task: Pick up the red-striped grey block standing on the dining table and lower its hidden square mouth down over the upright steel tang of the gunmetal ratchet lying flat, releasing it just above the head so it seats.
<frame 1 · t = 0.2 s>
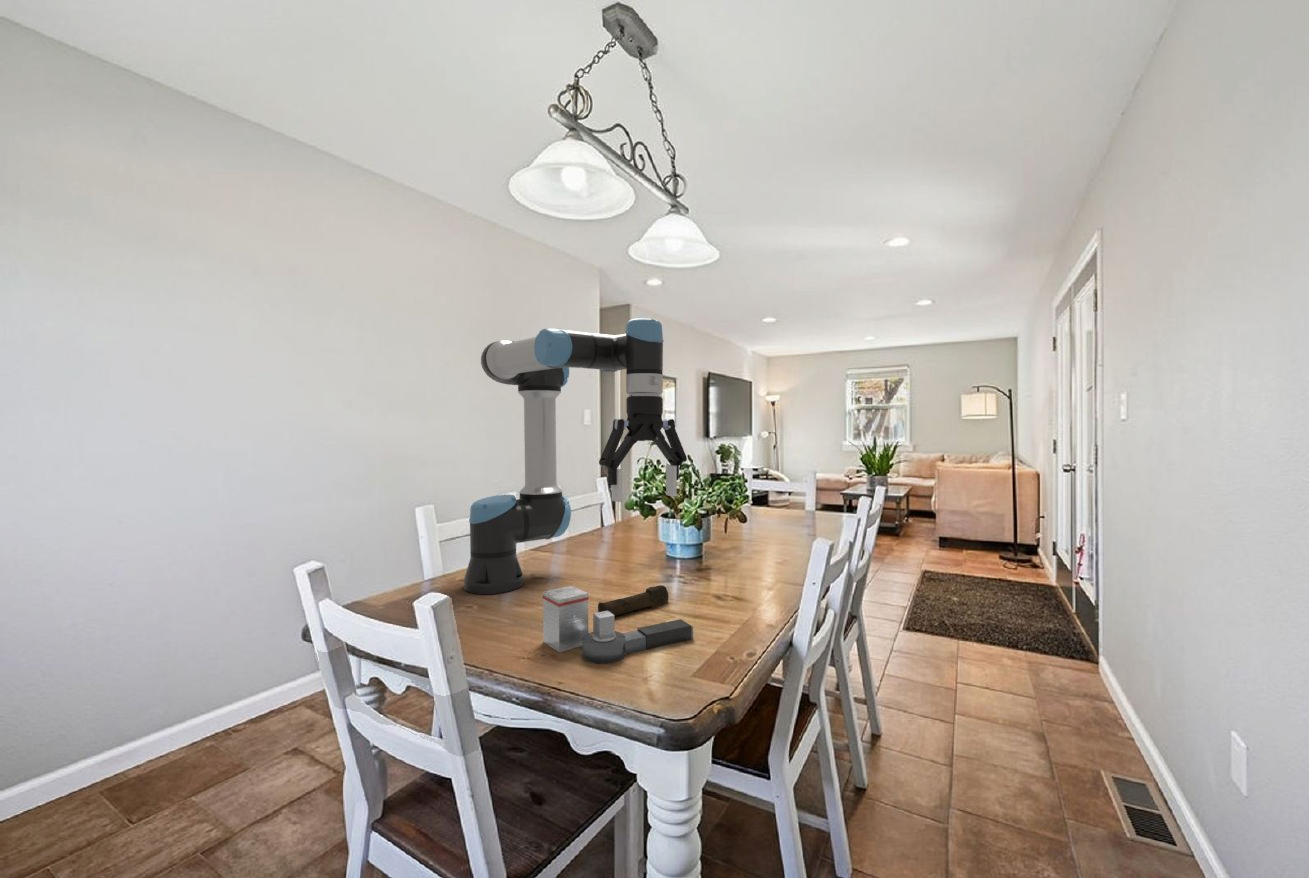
hand: (644, 498, 115), 27 cm above the table, fingers open, 13 cm apart
ratchet: (604, 653, 104), on the table
hand tool: (634, 611, 128), on the table
red-striped grey block: (565, 642, 109), on the table
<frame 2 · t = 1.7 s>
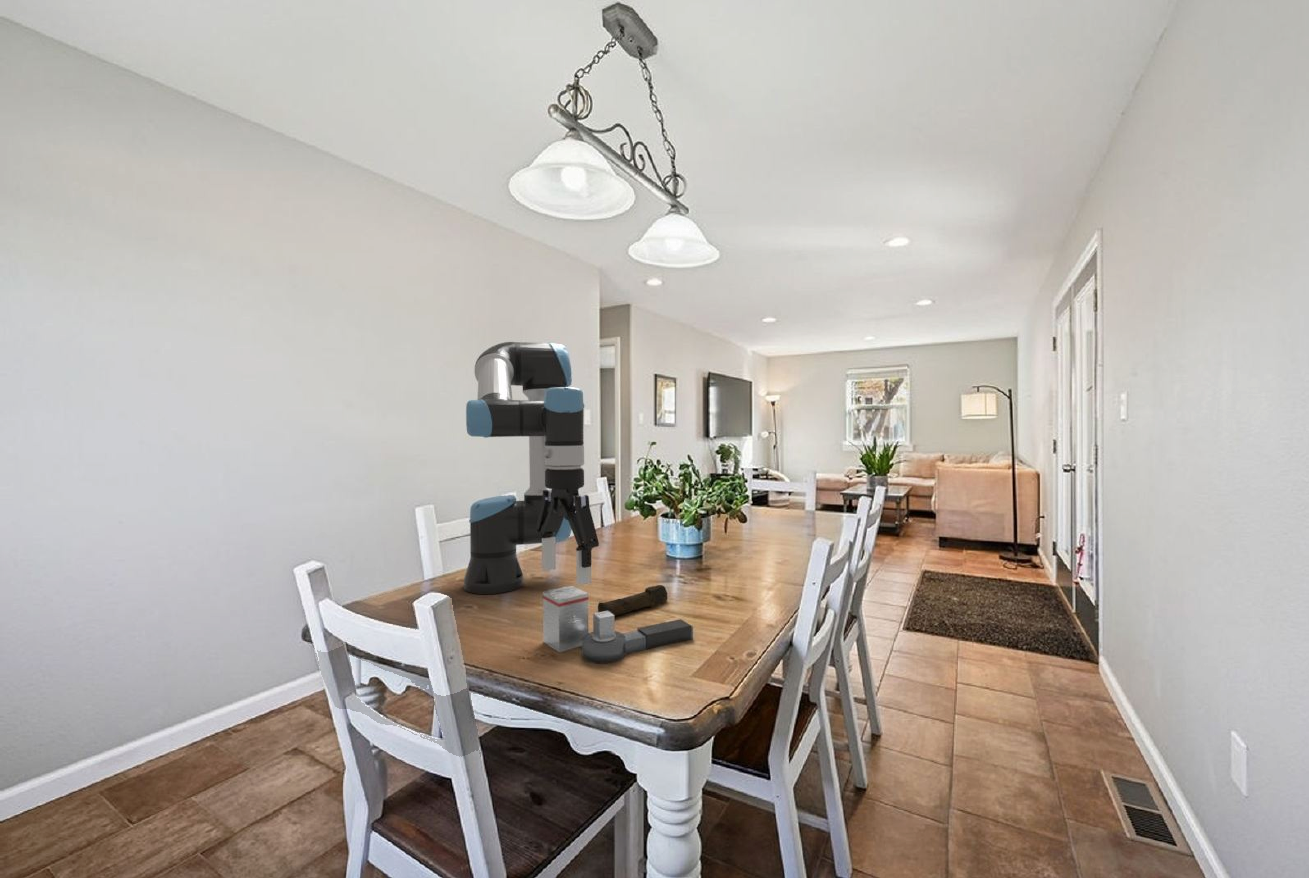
hand: (565, 576, 108), 13 cm above the table, fingers open, 13 cm apart
nothing on the table moved.
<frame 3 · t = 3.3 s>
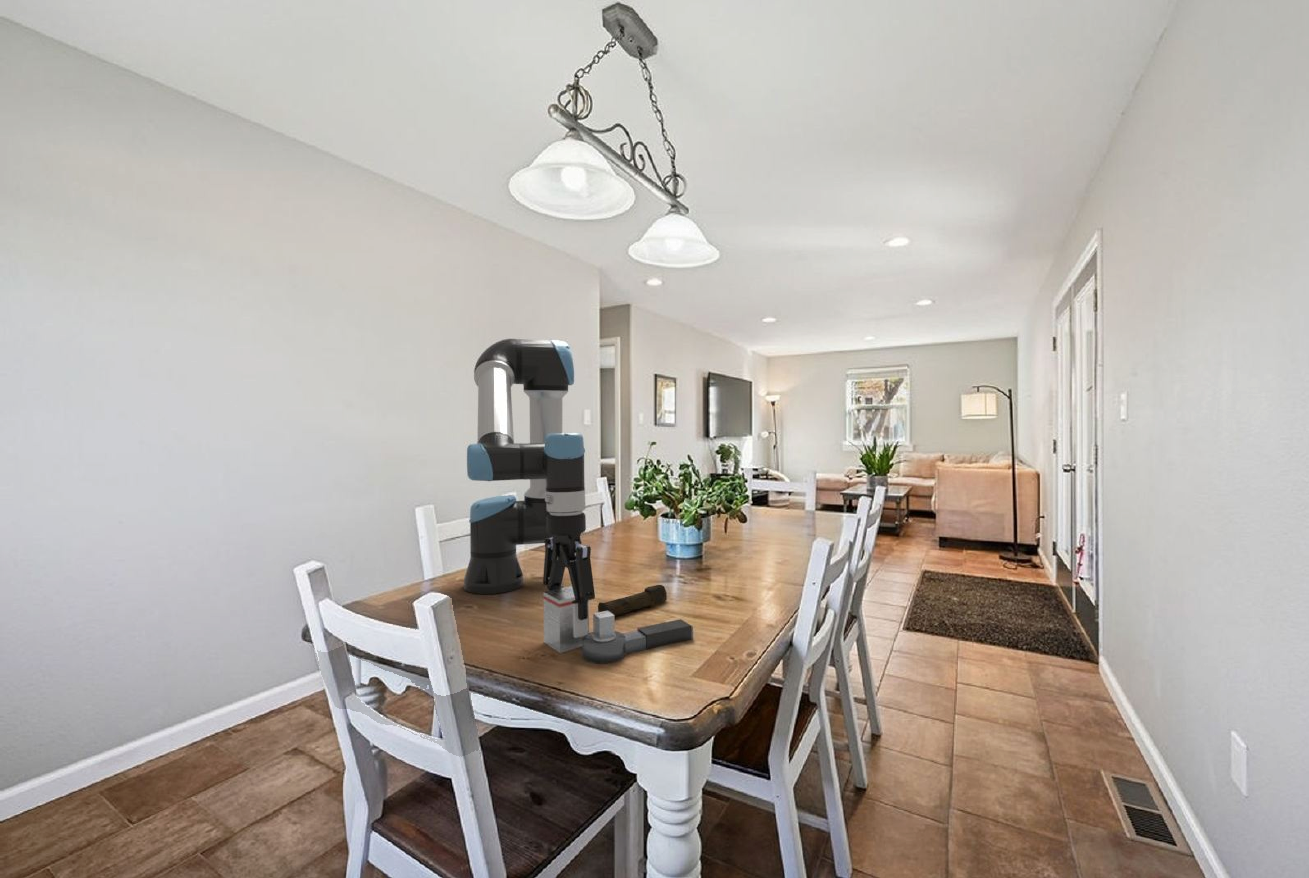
hand: (568, 629, 108), 3 cm above the table, fingers open, 8 cm apart
red-striped grey block: (566, 643, 108), on the table, touching gripper
everything else where it was.
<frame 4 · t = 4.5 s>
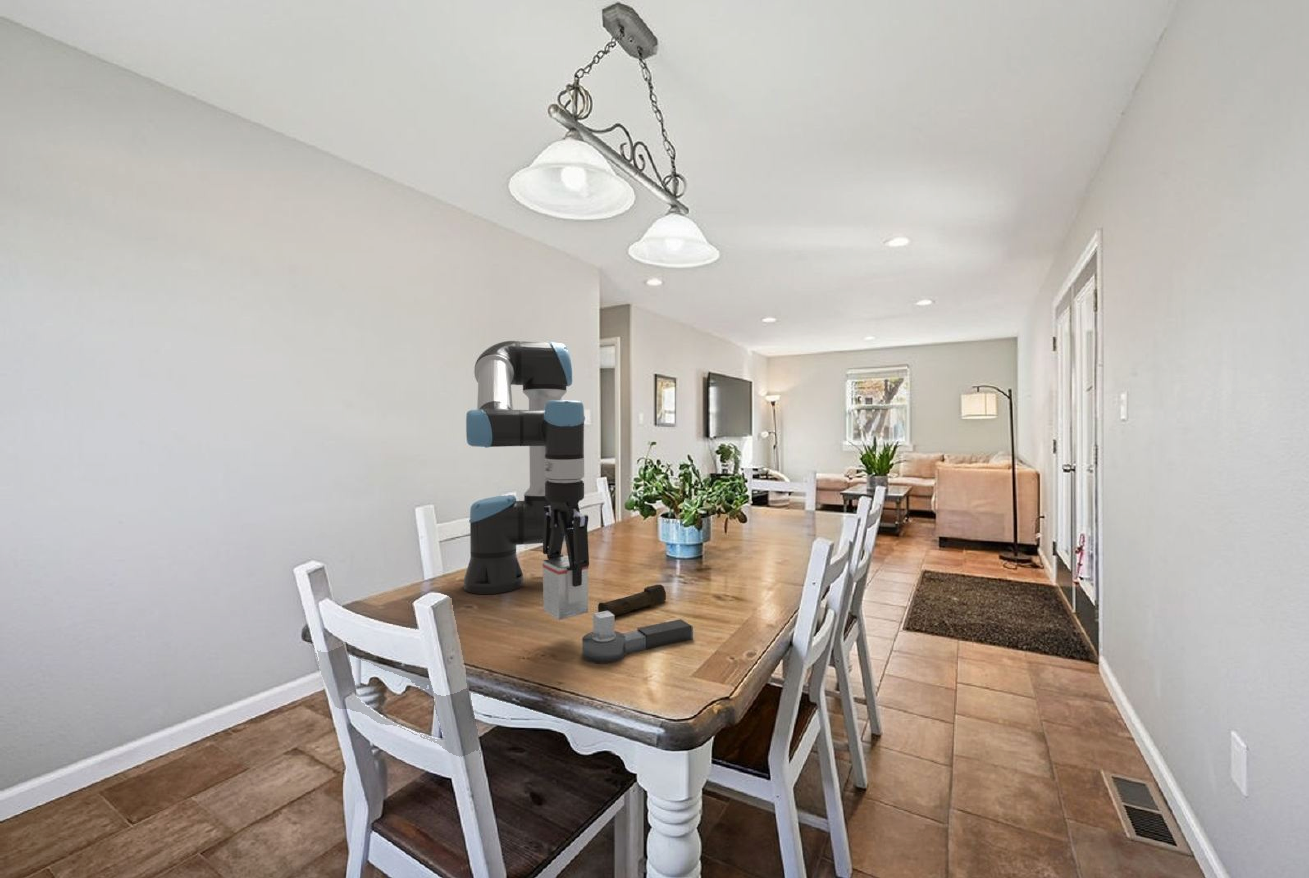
hand: (565, 596, 109), 9 cm above the table, fingers closed on red-striped grey block, 6 cm apart
red-striped grey block: (565, 611, 109), point 6 cm above the table, touching gripper
everything else where it was.
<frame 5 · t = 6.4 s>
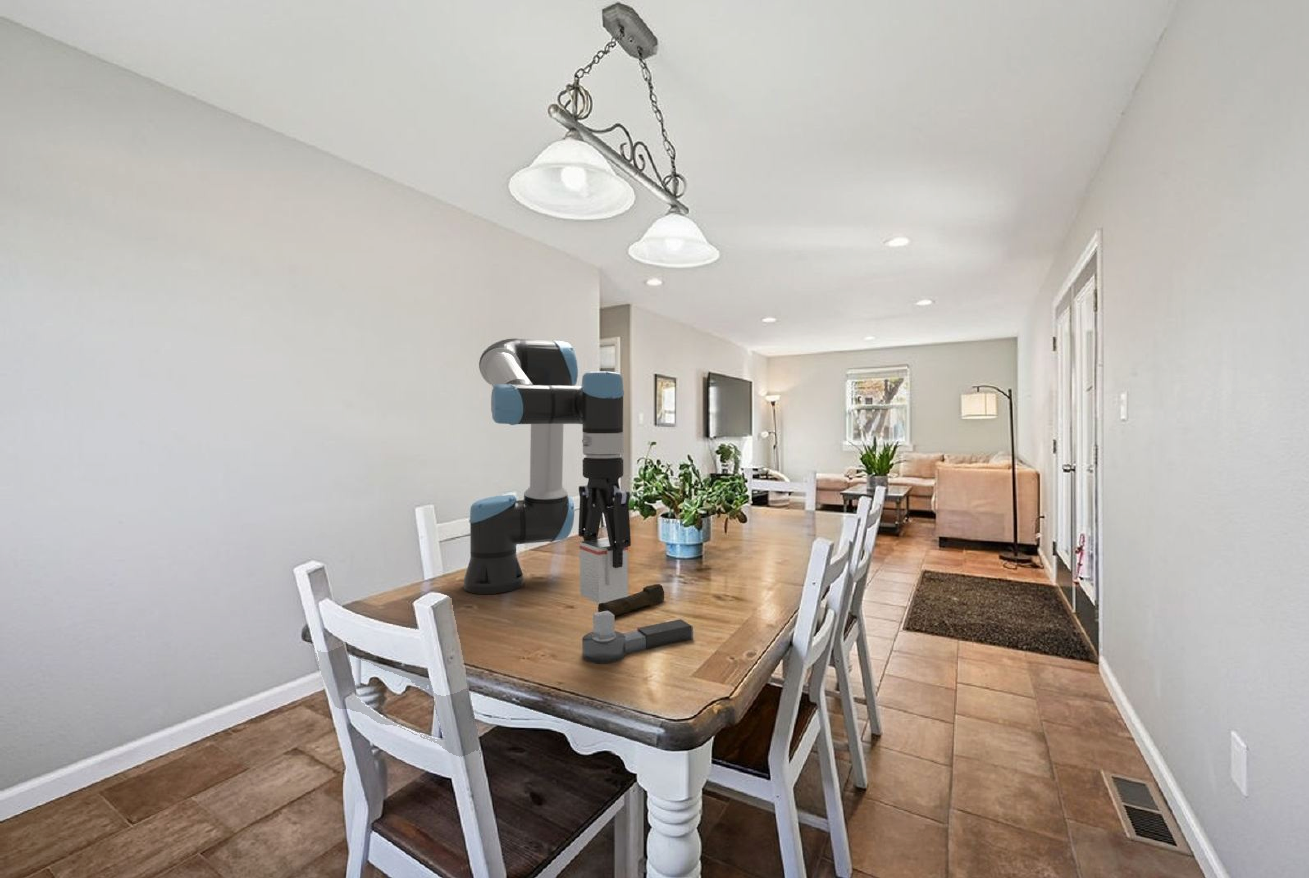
hand: (603, 579, 103), 14 cm above the table, fingers closed on red-striped grey block, 6 cm apart
red-striped grey block: (604, 595, 103), point 11 cm above the table, touching gripper
everything else where it was.
when the fingers open (8 cm above the table, at t = 8.7 s): red-striped grey block drops 2 cm, resting on ratchet.
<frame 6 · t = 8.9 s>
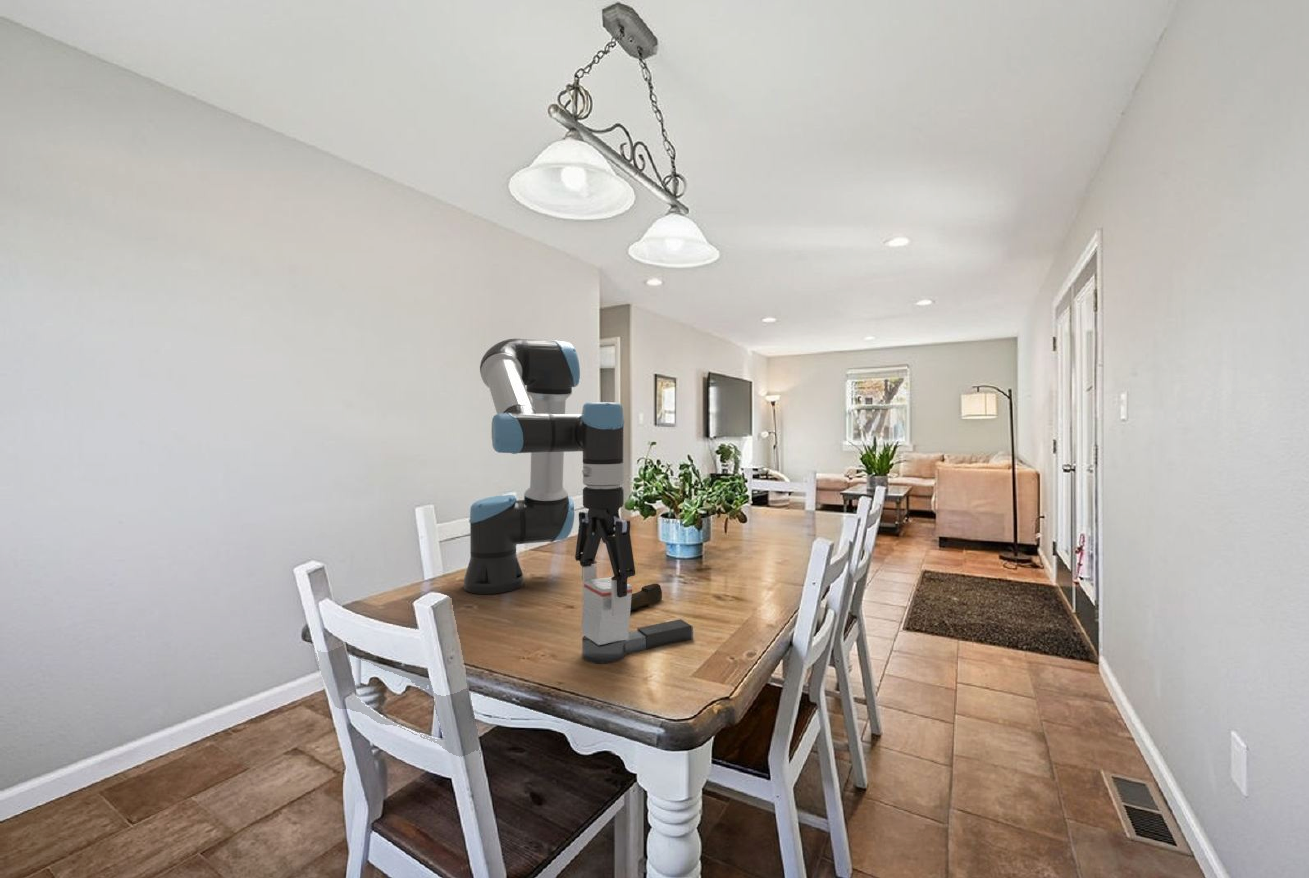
hand: (603, 606, 103), 9 cm above the table, fingers open, 9 cm apart
red-striped grey block: (604, 636, 103), point 3 cm above the table, touching ratchet
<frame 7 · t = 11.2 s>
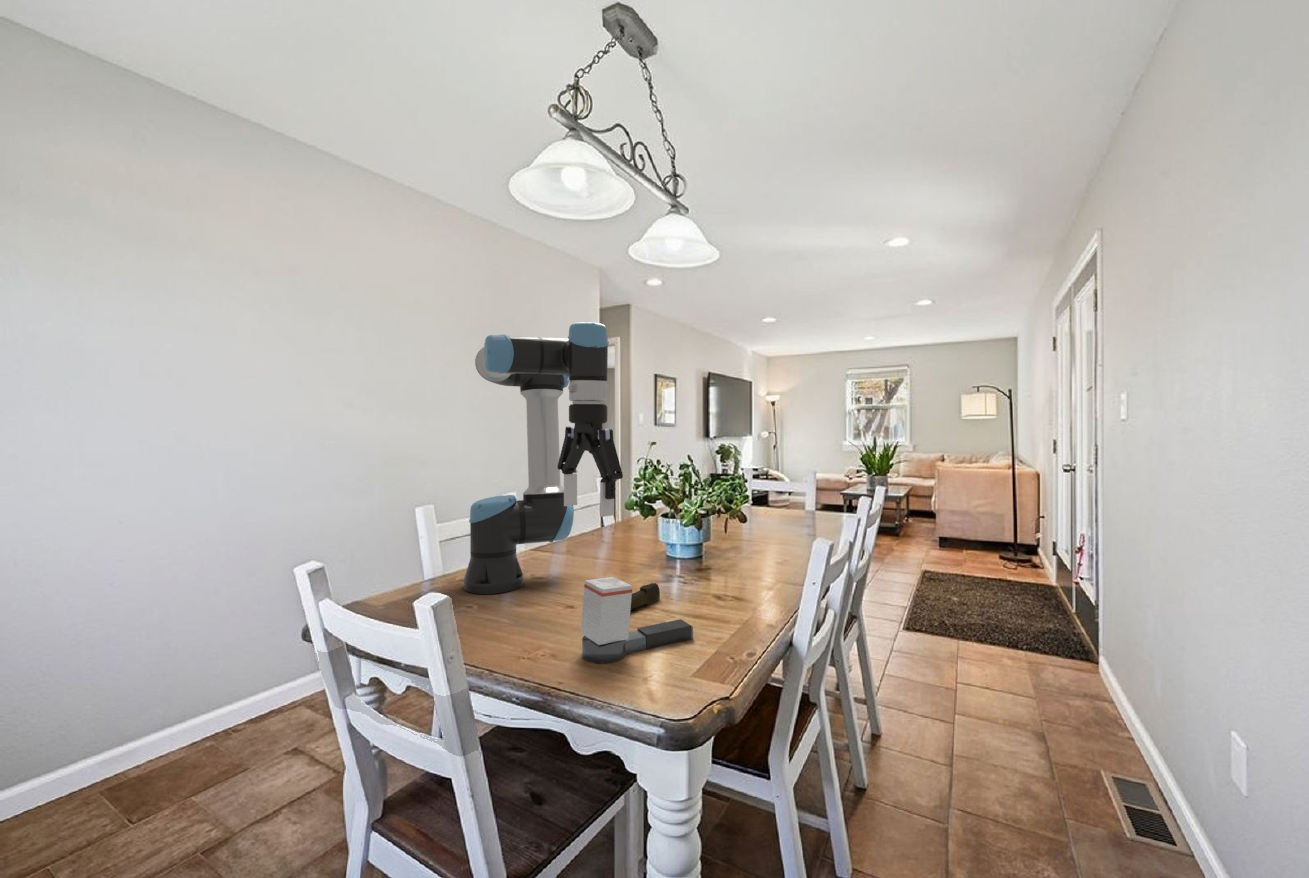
hand: (587, 510, 110), 26 cm above the table, fingers open, 13 cm apart
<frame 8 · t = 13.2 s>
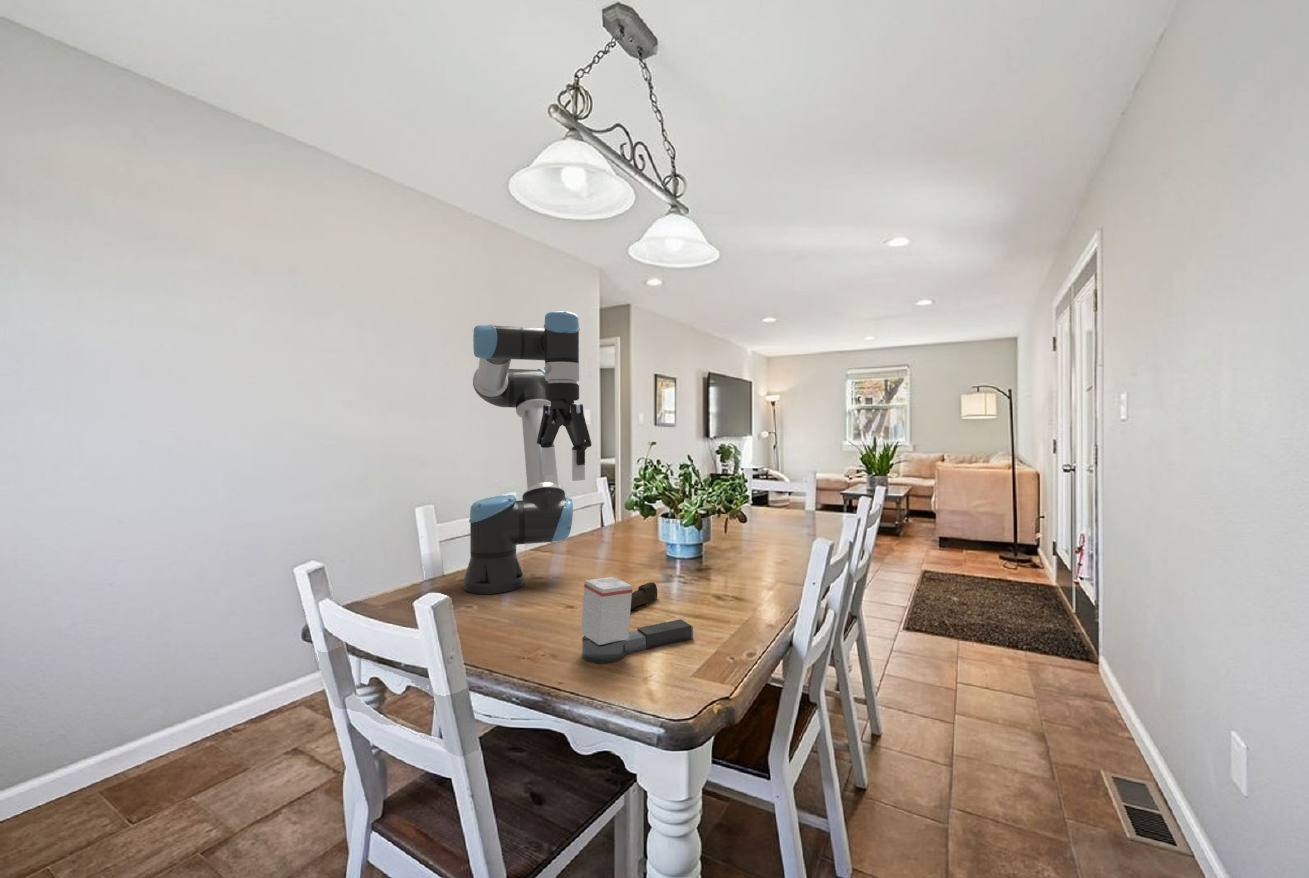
hand: (562, 477, 124), 31 cm above the table, fingers open, 13 cm apart
at the end: red-striped grey block 0.1 cm off-centre on the ratchet, point 3.4 cm above the ratchet's base; red-striped grey block tilted 5°; the gripper is holding nothing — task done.
